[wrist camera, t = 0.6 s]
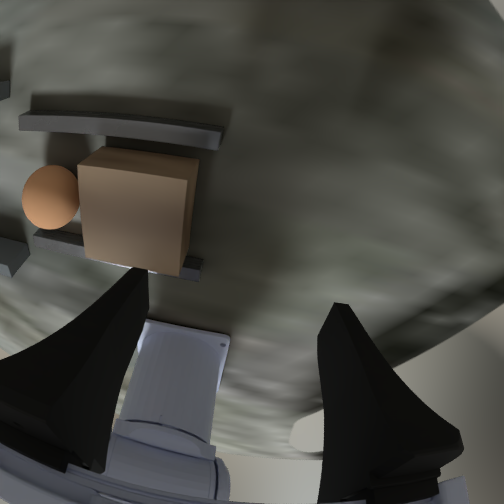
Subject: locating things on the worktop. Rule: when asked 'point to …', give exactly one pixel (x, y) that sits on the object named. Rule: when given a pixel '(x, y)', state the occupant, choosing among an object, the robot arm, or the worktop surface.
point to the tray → (5, 250)
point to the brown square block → (137, 208)
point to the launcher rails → (118, 127)
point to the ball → (51, 197)
